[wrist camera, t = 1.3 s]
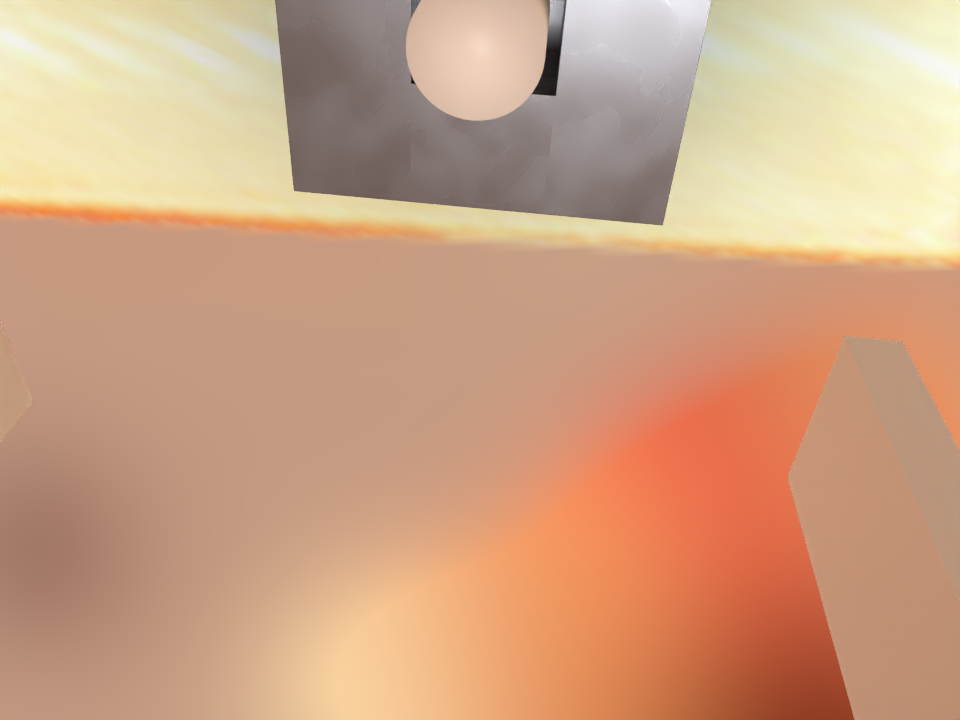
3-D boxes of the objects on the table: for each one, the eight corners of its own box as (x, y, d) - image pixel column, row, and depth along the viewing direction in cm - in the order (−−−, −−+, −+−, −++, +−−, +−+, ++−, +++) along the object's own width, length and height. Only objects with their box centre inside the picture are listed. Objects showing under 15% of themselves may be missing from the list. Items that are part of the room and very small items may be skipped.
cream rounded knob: (431, -67, 26) (405, -29, 22) (556, -57, 26) (552, -17, 22) (429, 60, 28) (405, 114, 24) (543, 70, 28) (538, 126, 24)
